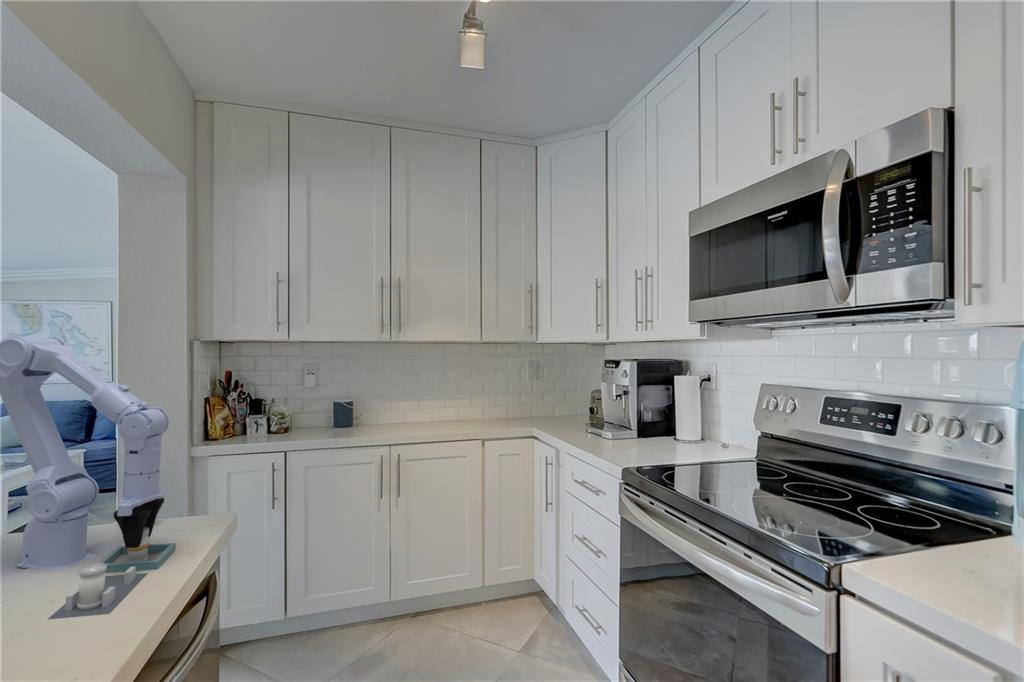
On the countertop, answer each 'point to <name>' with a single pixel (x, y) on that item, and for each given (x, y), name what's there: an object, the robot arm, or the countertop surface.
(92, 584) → the cylinder
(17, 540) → the countertop surface
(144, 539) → the marked fuse
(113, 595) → the fuse board
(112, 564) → the tray
